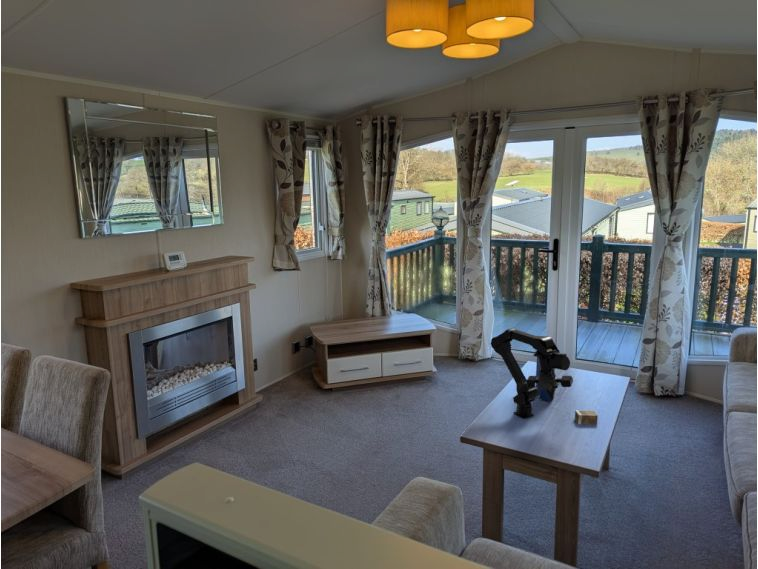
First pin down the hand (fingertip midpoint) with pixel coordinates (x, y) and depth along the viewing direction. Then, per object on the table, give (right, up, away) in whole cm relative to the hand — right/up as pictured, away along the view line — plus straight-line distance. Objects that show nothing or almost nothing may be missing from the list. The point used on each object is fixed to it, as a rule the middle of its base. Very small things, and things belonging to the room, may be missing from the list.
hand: (552, 399), depth 230 cm
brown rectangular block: (+11, -8, +2) cm, 14 cm away
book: (+7, -5, +33) cm, 34 cm away
